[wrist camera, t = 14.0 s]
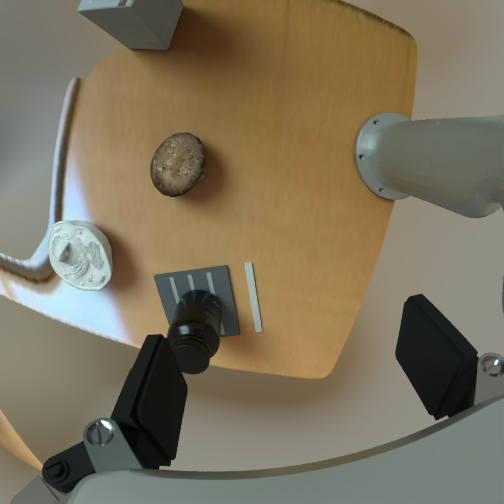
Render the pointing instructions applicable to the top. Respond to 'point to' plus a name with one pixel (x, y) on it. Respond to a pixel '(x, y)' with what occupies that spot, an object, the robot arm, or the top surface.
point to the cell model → (80, 254)
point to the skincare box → (135, 20)
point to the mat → (204, 279)
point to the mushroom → (178, 164)
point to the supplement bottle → (195, 330)
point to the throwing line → (253, 296)
